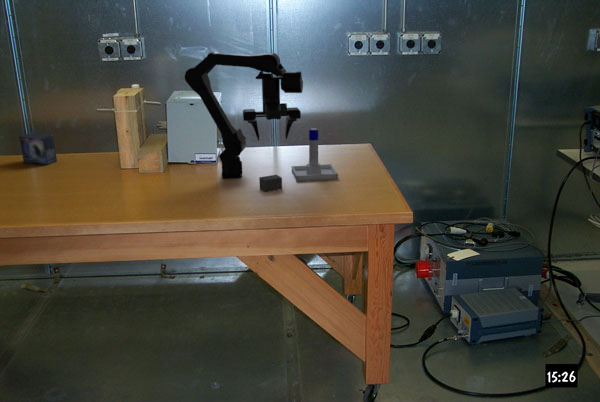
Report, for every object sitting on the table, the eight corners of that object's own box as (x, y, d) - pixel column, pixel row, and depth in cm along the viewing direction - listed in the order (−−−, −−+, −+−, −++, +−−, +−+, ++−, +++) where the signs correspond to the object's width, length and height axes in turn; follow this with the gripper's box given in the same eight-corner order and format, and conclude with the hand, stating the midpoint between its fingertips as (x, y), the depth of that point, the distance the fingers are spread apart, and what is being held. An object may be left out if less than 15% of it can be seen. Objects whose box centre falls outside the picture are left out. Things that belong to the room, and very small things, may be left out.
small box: (22, 164, 232) (18, 136, 228) (34, 159, 238) (30, 132, 234) (46, 166, 229) (42, 138, 226) (57, 161, 235) (54, 134, 231)
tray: (296, 181, 207) (296, 176, 206) (291, 171, 218) (291, 166, 217) (337, 179, 209) (337, 173, 208) (331, 169, 220) (331, 164, 219)
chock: (265, 192, 197) (264, 180, 196) (259, 189, 200) (259, 177, 199) (282, 189, 200) (281, 177, 198) (276, 186, 203) (276, 174, 202)
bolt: (322, 175, 211) (307, 176, 211) (319, 171, 216) (305, 172, 215) (322, 130, 206) (307, 130, 205) (320, 127, 211) (305, 127, 210)
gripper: (243, 98, 194) (245, 146, 200) (303, 95, 197) (303, 144, 202) (241, 92, 205) (243, 138, 210) (298, 90, 207) (298, 136, 212)
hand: (272, 139), depth 208 cm, fingers open, 9 cm apart
